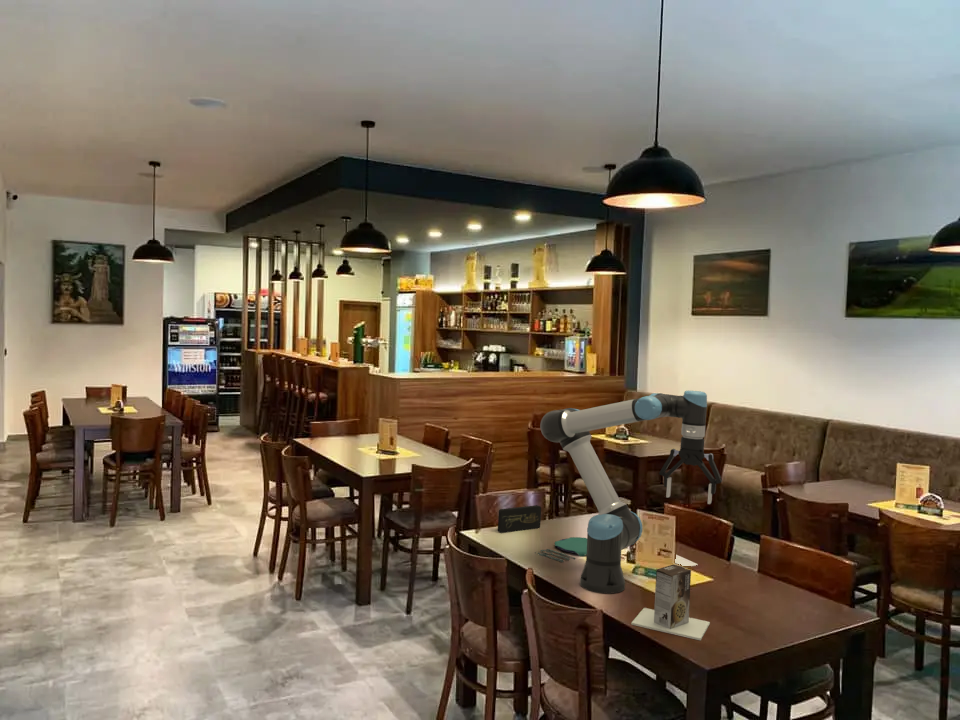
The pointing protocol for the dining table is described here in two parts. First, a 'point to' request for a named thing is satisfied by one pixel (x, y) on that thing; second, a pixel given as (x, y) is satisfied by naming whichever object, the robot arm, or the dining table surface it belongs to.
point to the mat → (689, 630)
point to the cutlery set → (568, 548)
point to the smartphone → (684, 561)
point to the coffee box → (672, 596)
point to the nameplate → (519, 519)
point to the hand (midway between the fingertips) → (688, 500)
